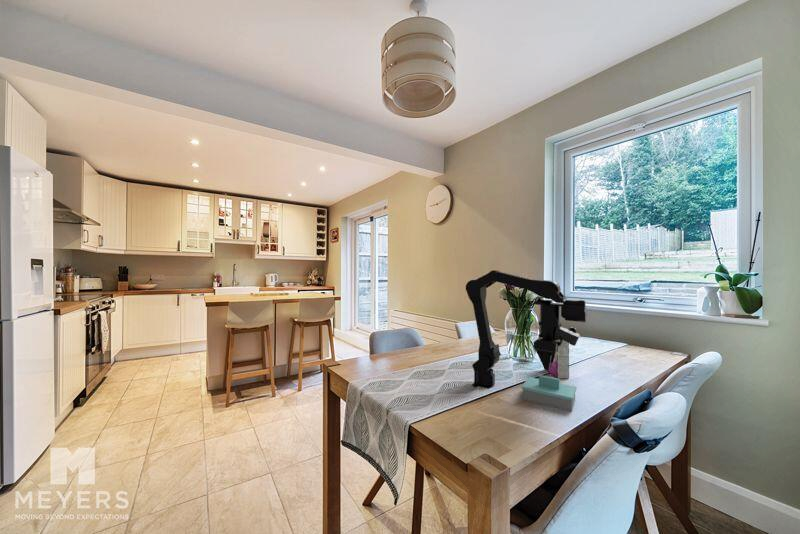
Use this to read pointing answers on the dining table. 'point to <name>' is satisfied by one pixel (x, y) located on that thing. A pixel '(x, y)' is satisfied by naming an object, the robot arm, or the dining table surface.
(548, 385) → the teal lid
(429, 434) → the dining table surface
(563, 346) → the candy bar box
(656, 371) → the dining table surface
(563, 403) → the parts tub
